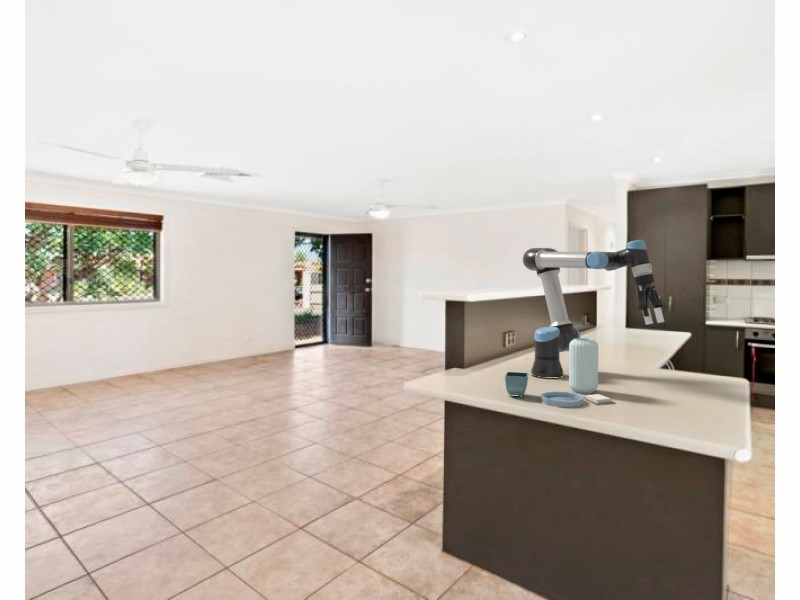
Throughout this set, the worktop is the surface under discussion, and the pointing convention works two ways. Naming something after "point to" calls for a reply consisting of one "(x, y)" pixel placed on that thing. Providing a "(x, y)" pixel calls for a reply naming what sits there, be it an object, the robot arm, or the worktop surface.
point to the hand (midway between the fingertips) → (655, 323)
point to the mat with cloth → (598, 399)
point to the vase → (583, 365)
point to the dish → (562, 399)
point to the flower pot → (516, 383)
